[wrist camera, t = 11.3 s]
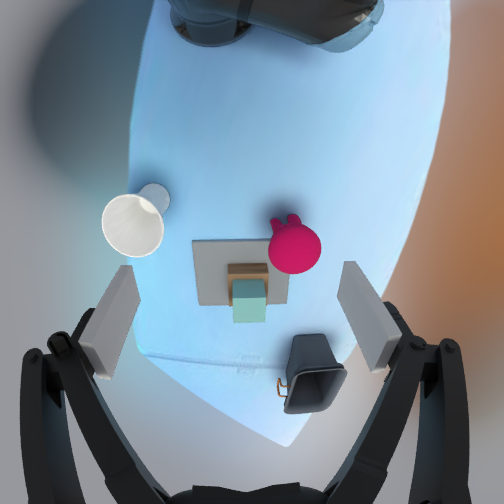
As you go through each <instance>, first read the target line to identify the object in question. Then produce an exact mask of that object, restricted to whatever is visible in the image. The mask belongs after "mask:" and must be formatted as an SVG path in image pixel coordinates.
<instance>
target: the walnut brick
mask: <svg viewBox="0 0 504 504" xmlns="http://www.w3.org/2000/svg"><path fill="white" fill-rule="evenodd" d="M234 279H263V280H264V286H265V293H266V305H267V300H268V281H269V272H268V266H267V263H238V264H228V296H229V306H233V280H234Z"/></svg>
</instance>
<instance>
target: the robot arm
mask: <svg viewBox="0 0 504 504" xmlns="http://www.w3.org/2000/svg"><path fill="white" fill-rule="evenodd" d="M168 1H169V3H170V4H171V5H172V6H171V11H170V17H171V22H172V25H173V27H174V28H175V30H176V31H177V32H178V34H179V35H180V36H181V37H182V38H183V39H185V40H186V41H188V42H190V43H192V44H195V45H198V46H204V47H219V46H224V45H228V44H231V43H233V42H236V41H237V40H239V39H241V38H242V37H244V36H245V35H246V34H247V33H248V32H249V31H250V30H251V29H252V28H253V26H254V24H255V25H258V26H261V27H264V28H267V29H270V30H273V31H276V32H279V33H281V34H284V35H287V36H290V37H292V38H295V39H297V40H300V41H302V42H305V43H306V44H307V45H310V46H316V47H319V48H321V49H324V50H326V51H329V52H333V53H341V52H345V51H348V50H350V49H352V48H354V47H355V46H357V45H358V44H359V43H361V42H362V41H363V40H364V39H365V38H366V37H367V36H368V35H369V34H370V33H371V32H372V30H373V26H374V25H376V24H377V23H378V22H379V20H380V18H381V16H382V14H383V11H384V1H383V0H168ZM337 298H338V300H339V302H340V304H341V306H342V309H343V311H344V313H345V315H346V317H347V319H348V322H349V324H350V326H351V328H352V330H353V333H354V335H355V337H356V339H357V342H358V344H359V346H360V348H361V351H362V353H363V355H364V358H365V360H366V362H367V365H368V367H369V369H370V372H371V373H377V372H381V371H384V370H385V368H386V366H387V364H388V365H389V367H390V371H389V373H388V375H387V376H386V378H385V380H384V382H385V383H384V385H383V388H382V389H381V392H380V394H379V396H378V398H377V401H376V403H375V405H374V407H373V409H372V411H371V413H370V415H369V417H368V419H367V421H366V423H365V425H364V427H363V429H362V431H361V433H360V435H359V436H358V438H357V440H356V442H355V444H354V445H353V447H352V449H351V451H350V452H349V454H348V456H347V457H346V459H345V461H344V462H343V464H342V466H341V467H340V469H339V470H338V472H337V474H336V475H335V476H334V478H333V479H332V480H331V482H330V483H329V484H328V485H327V487H326V488H325V490H324V491H323V492H321V491H318V490H316V489H312V488H309V487H303V486H300V483H299V482H297V483H288V484H279V485H272V486H268V487H265V488H262V489H258V490H254V491H250V492H241V491H236V490H231V489H227V488H222V487H214V486H194V485H193V487H192V490H187V491H183V492H180V493H177V494H176V495H174V496H172V497H170V496H169V494H168V493H167V492H166V491H165V490H164V489H163V488H162V487H161V485H160V484H159V483H158V482H157V481H156V480H155V479H154V478H153V476H152V475H151V473H150V472H149V471H148V469H147V468H146V466H145V465H144V464H143V462H142V461H141V459H140V458H139V457H138V455H137V454H136V452H135V451H134V449H133V448H132V446H131V445H130V443H129V441H128V440H127V438H126V437H125V435H124V433H123V432H122V430H121V429H120V427H119V425H118V423H117V422H116V420H115V418H114V417H113V415H112V413H111V411H110V409H109V408H108V406H107V404H106V402H105V400H104V398H103V396H102V394H101V392H100V390H99V388H98V386H97V384H96V382H95V380H94V378H93V374H94V372H96V374H97V376H98V377H99V378H103V379H110V380H111V379H112V376H113V373H114V370H115V368H116V365H117V362H118V359H119V356H120V353H121V350H122V348H123V345H124V342H125V339H126V337H127V334H128V331H129V328H130V326H131V324H132V321H133V319H134V316H135V313H136V311H137V308H138V306H139V304H140V301H141V300H140V296H139V292H138V288H137V284H136V280H135V276H134V272H133V268H132V265H121V266H120V268H119V270H118V271H117V273H116V274H115V276H114V278H113V280H112V281H111V283H110V284H109V286H108V288H107V289H106V291H105V293H104V295H103V296H102V298H101V300H100V302H99V303H98V305H97V307H96V308H89V309H88V310H87V311H86V312H85V313H84V314H83V316H82V318H81V319H80V322H79V323H78V325H77V327H76V328H75V330H74V332H73V334H72V336H71V338H70V336H69V335H68V333H66V332H64V331H63V332H62V331H60V332H56V333H54V334H53V335H51V337H50V338H49V339H48V341H47V346H48V348H49V350H50V351H51V353H52V354H45V355H43V353H42V351H41V350H40V349H38V348H33V349H30V350H29V351H27V352H26V354H25V355H24V357H23V362H22V373H21V388H20V436H21V450H22V460H23V469H24V476H25V482H26V487H27V493H28V498H29V499H28V504H86V503H85V500H84V497H83V493H82V490H81V487H80V483H79V479H78V476H77V471H76V467H75V462H74V458H73V453H72V448H71V442H70V437H69V430H68V423H67V415H66V407H65V398H64V390H65V392H66V395H67V398H68V400H69V403H70V406H71V408H72V411H73V413H74V415H75V418H76V420H77V423H78V425H79V427H80V429H81V432H82V434H83V436H84V438H85V440H86V442H87V444H88V446H89V448H90V450H91V452H92V454H93V456H94V458H95V460H96V462H97V464H98V465H99V467H100V469H101V471H102V472H103V474H104V476H105V484H106V486H107V488H108V490H109V491H110V493H111V494H112V496H113V497H114V499H115V500H116V502H117V503H118V504H373V502H374V500H375V498H376V497H377V495H378V493H379V491H380V489H381V487H382V485H383V483H384V481H385V479H386V477H387V473H388V472H387V467H388V465H389V462H390V460H391V458H392V456H393V454H394V451H395V449H396V447H397V444H398V442H399V440H400V437H401V435H402V432H403V429H404V427H405V424H406V422H407V419H408V416H409V413H410V410H411V407H412V404H413V401H414V398H415V395H416V392H417V388H418V385H419V382H420V416H419V430H418V442H417V451H416V459H415V466H414V473H413V479H412V484H411V489H410V495H409V503H408V504H472V503H471V498H470V493H469V488H468V473H469V414H468V401H467V392H466V382H465V375H464V368H463V362H462V356H461V350H460V347H459V345H458V344H457V342H455V341H454V340H452V339H449V338H445V339H443V340H442V341H441V342H440V344H439V345H429V344H427V343H426V341H425V340H424V339H423V338H421V337H419V336H414V335H413V333H412V332H411V330H410V329H409V327H408V325H407V324H406V322H405V321H404V319H403V318H402V316H401V315H400V314H399V311H398V310H397V308H396V307H395V306H394V305H393V304H391V303H390V302H382V301H381V299H380V297H379V296H378V294H377V293H376V291H375V290H374V288H373V287H372V285H371V284H370V282H369V281H368V279H367V278H366V276H365V275H364V273H363V272H362V270H361V269H360V267H359V266H358V264H357V263H356V261H344V265H343V270H342V275H341V280H340V285H339V290H338V294H337Z"/></svg>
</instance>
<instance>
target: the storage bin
mask: <svg viewBox="0 0 504 504" xmlns="http://www.w3.org/2000/svg"><path fill="white" fill-rule="evenodd" d="M346 375H347V371H346V370H345V369H344V366H343V365H342V364H341V363H337V361H336V359H335V357H334V355H333V353H332V350H331V348H330V346H329V344H328V341H327V339H326V337H325V335H303V336H296V337H294V340H293V345H292V350H291V354H290V358H289V363H288V367H287V370H286V377H287V386H283V385H282V383H281V380H280V378H278V381H277V391H278V395H279V396H280V397H286V399H285V402H284V407H285V408H284V412H285V413H286V414H302V413H313V412H320V411H323V410H325V409H327V408H328V407H329V406H330V405H331V404H332V402H333V400H334V398H335V397H336V395H337V393H338V391H339V390H340V387H341V386H342V384H343V382H344V380H345V378H346ZM279 383H280V386H281V387H287V394H288V396H282V395H280V392H279Z"/></svg>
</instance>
